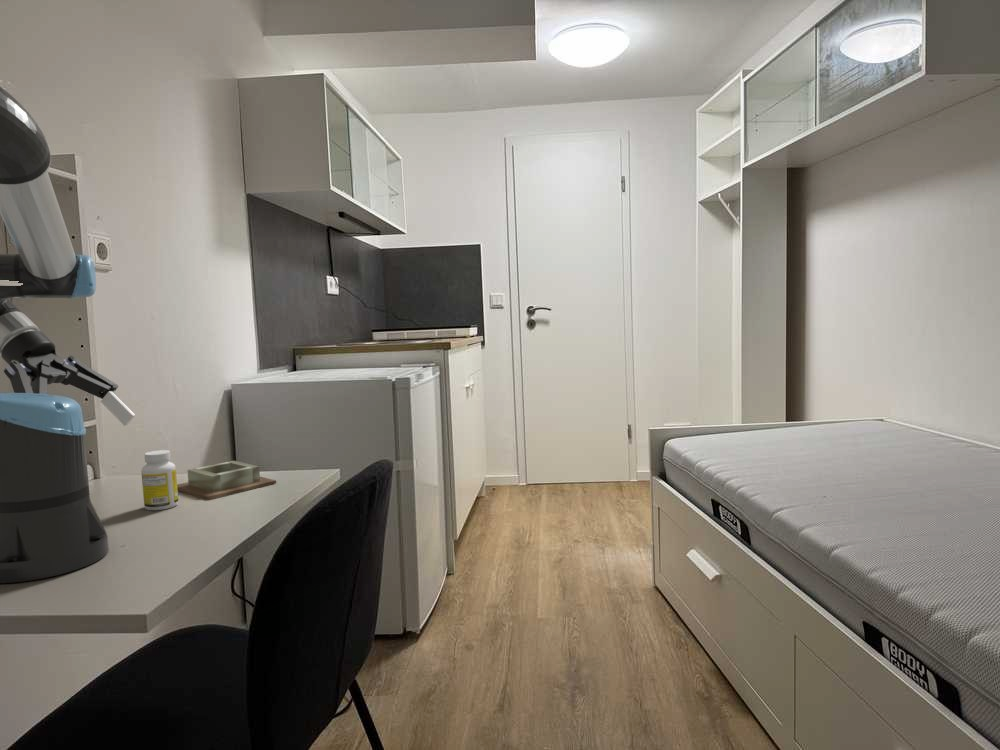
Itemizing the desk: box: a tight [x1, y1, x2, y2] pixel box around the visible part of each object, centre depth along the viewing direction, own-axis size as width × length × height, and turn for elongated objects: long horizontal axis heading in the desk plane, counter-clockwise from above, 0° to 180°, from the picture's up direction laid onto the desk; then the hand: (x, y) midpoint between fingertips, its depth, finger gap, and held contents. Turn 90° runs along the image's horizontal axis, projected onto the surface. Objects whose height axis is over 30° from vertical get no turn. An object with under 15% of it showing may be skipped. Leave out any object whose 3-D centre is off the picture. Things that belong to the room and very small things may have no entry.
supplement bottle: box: [140, 449, 179, 511], centre depth 116 cm, size 5×5×10 cm
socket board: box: [177, 460, 277, 501], centre depth 129 cm, size 14×14×4 cm
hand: (103, 426), depth 116 cm, fingers open, 13 cm apart
